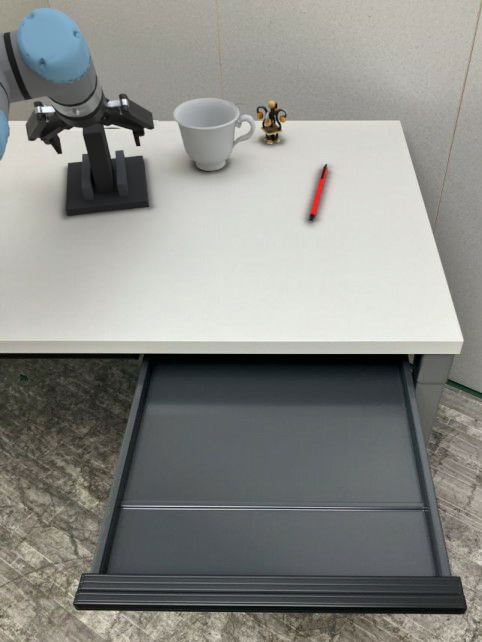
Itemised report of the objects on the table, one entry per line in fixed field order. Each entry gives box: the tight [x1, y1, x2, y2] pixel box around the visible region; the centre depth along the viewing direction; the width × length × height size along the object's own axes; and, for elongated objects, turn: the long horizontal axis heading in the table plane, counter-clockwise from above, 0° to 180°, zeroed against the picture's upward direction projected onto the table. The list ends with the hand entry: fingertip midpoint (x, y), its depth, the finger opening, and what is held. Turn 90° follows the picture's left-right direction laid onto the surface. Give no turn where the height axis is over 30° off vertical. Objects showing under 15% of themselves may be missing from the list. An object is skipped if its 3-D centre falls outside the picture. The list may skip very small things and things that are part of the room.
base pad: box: [65, 149, 150, 217], centre depth 107 cm, size 14×16×4 cm
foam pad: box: [82, 124, 115, 194], centre depth 103 cm, size 3×8×11 cm, turn 12°
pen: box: [309, 163, 329, 223], centre depth 107 cm, size 1×19×1 cm, turn 169°
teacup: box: [172, 97, 256, 172], centre depth 110 cm, size 12×15×10 cm
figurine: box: [255, 100, 288, 145], centre depth 117 cm, size 5×5×8 cm
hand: (98, 142), depth 104 cm, fingers open, 13 cm apart
